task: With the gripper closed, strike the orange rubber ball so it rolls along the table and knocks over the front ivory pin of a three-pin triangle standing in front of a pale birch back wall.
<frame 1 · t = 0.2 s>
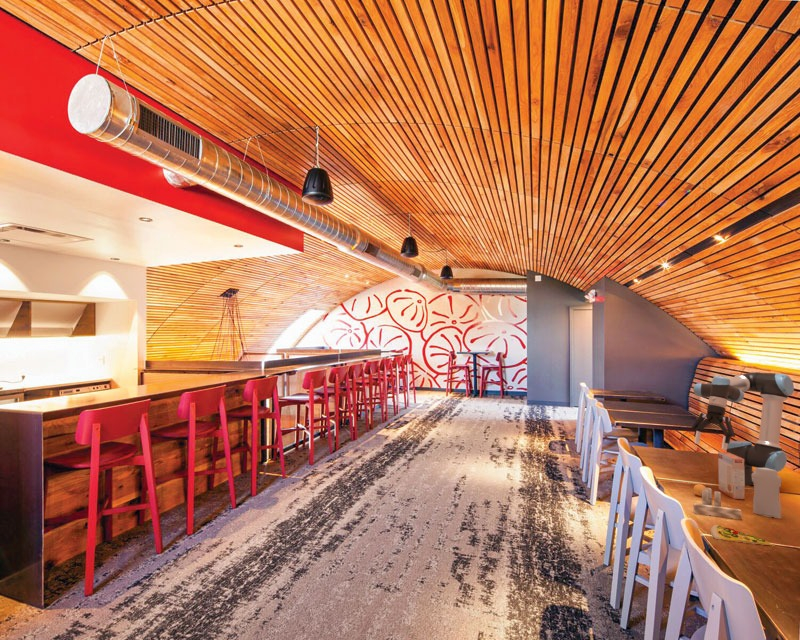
hand: (709, 446, 220), 27 cm above the table, tool tilted 15°, fingers open, 13 cm apart
front pin: (708, 506, 211), on the table
ball: (700, 490, 225), on the table
left pin: (717, 510, 206), on the table
tall pale column: (767, 516, 200), on the table
right pin: (705, 508, 208), on the table
back wall: (717, 515, 199), on the table
pizza slice: (741, 541, 175), on the table
cracker box: (731, 495, 227), on the table
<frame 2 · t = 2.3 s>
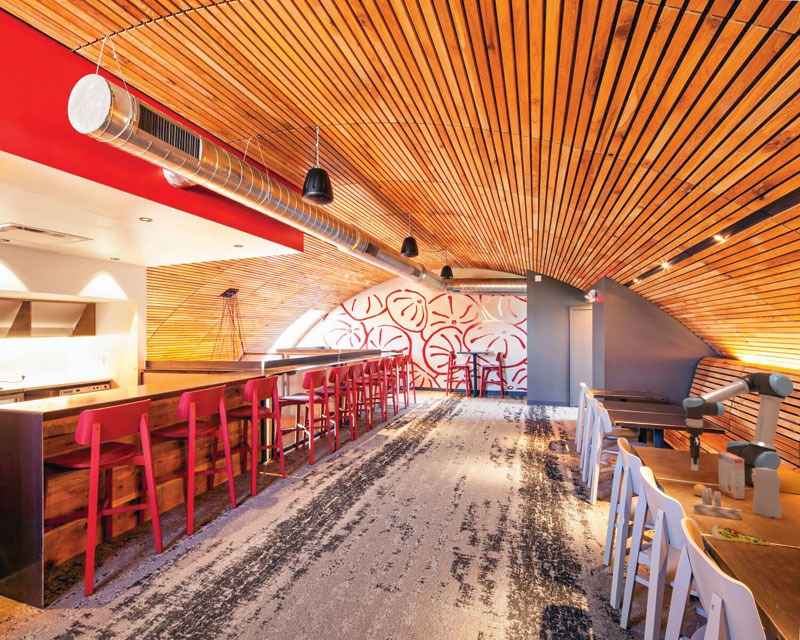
hand: (694, 470, 234), 11 cm above the table, tool pointing down, fingers closed
nothing on the table moved.
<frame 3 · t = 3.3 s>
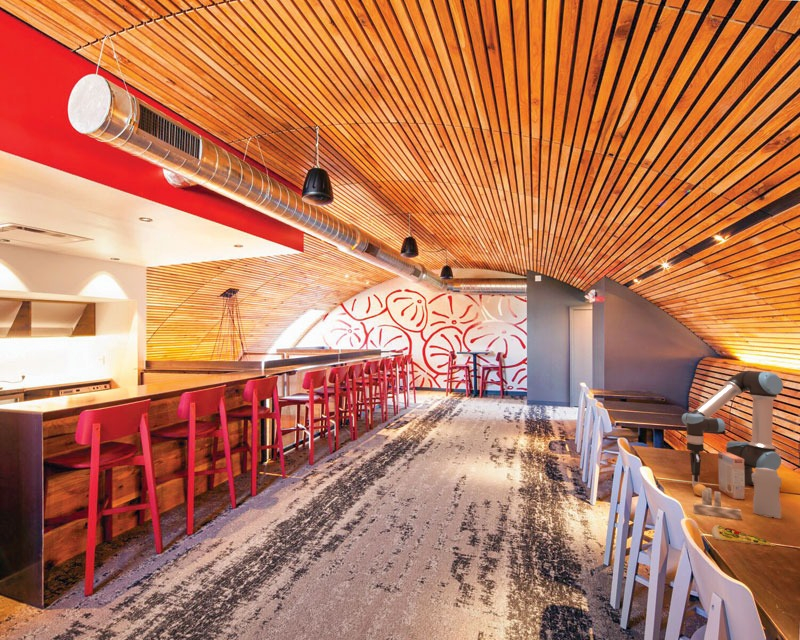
hand: (695, 486, 232), 2 cm above the table, tool pointing down, fingers closed
nothing on the table moved.
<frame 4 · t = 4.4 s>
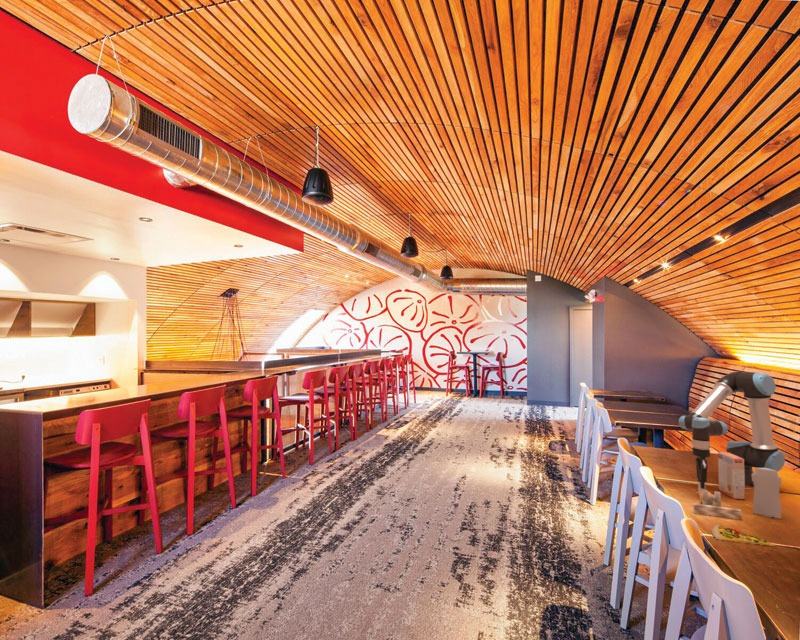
hand: (702, 494, 222), 2 cm above the table, tool pointing down, fingers closed
front pin: (709, 504, 210), point 1 cm above the table, tilted 46°
ball: (706, 497, 214), on the table
everything else where it was.
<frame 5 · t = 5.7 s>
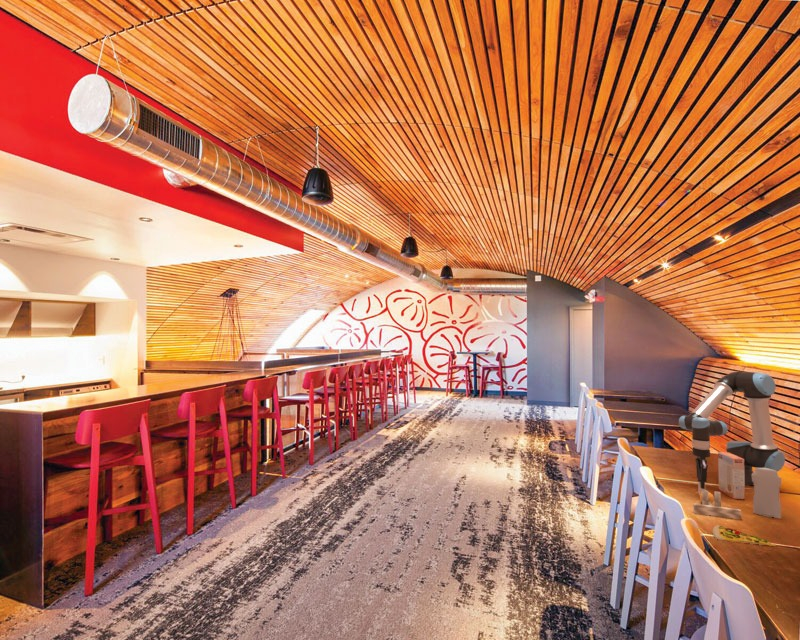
hand: (702, 494, 222), 2 cm above the table, tool pointing down, fingers closed
front pin: (709, 504, 210), point 1 cm above the table, tilted 90°
everything else where it was.
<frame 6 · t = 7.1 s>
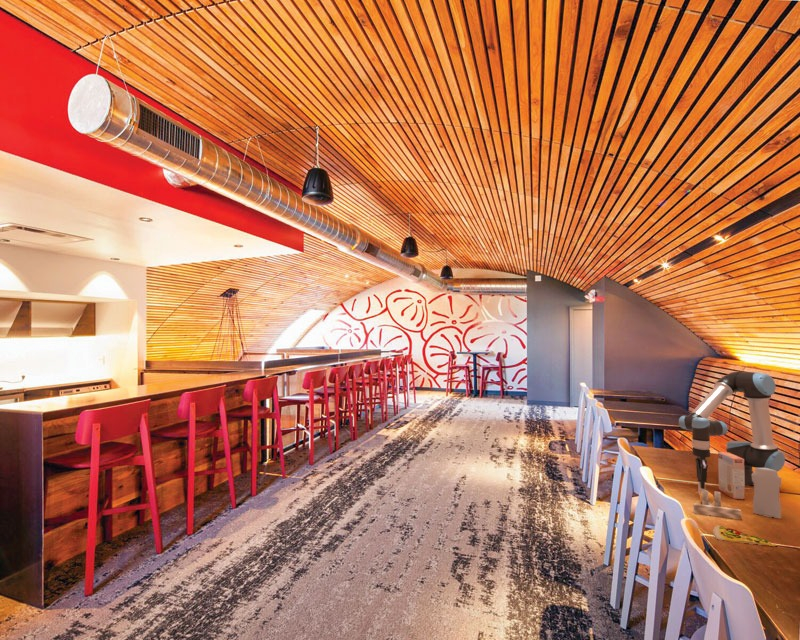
hand: (702, 494, 222), 2 cm above the table, tool pointing down, fingers closed
nothing on the table moved.
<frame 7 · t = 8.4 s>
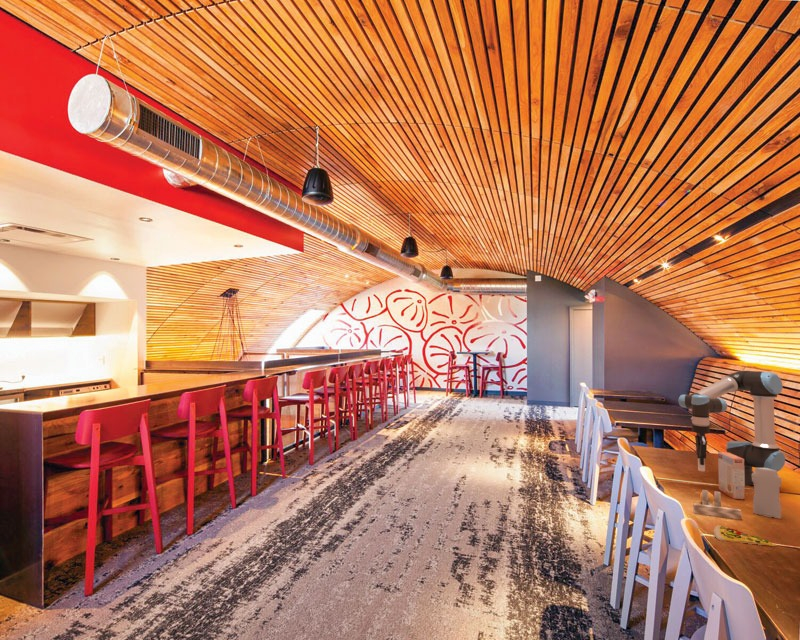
hand: (701, 470, 223), 14 cm above the table, tool pointing down, fingers closed
nothing on the table moved.
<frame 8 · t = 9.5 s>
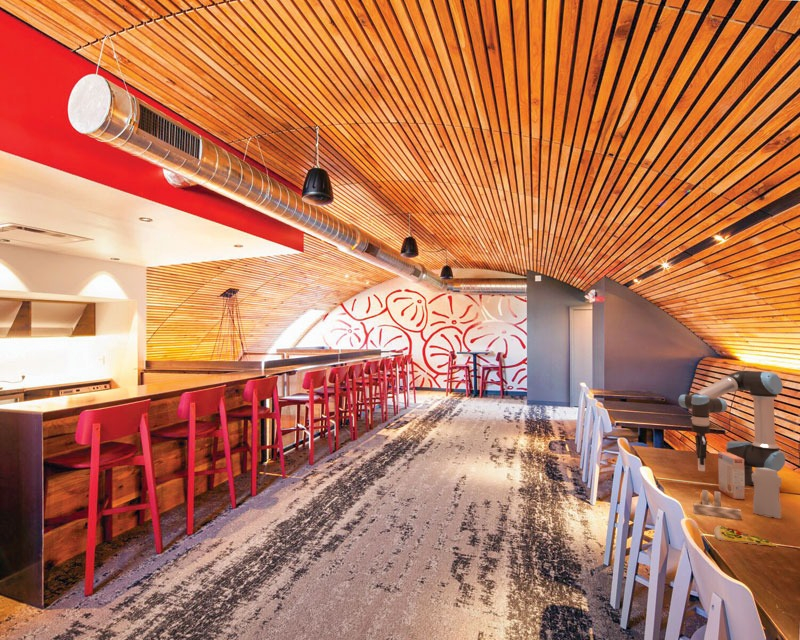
hand: (701, 470, 223), 14 cm above the table, tool pointing down, fingers closed
at the end: front pin tilted 90°; front pin never touched the robot; ball moved 11.9 cm from its start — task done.
